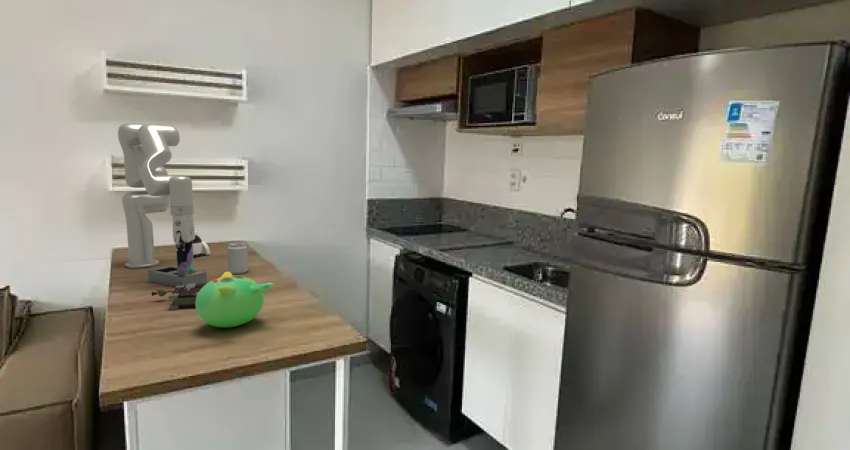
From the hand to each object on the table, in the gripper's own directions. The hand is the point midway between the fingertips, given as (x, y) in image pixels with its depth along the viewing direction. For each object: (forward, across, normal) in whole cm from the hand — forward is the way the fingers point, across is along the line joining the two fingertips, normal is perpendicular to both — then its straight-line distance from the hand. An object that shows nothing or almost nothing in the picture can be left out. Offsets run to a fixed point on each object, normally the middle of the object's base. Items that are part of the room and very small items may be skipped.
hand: (184, 259), depth 180 cm
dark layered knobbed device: (+10, -24, -9) cm, 28 cm away
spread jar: (+9, +52, +11) cm, 54 cm away
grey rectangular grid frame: (+9, +3, +4) cm, 10 cm away
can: (+9, +16, -15) cm, 24 cm away
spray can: (+7, 0, 0) cm, 7 cm away
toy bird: (+9, -49, -27) cm, 56 cm away
